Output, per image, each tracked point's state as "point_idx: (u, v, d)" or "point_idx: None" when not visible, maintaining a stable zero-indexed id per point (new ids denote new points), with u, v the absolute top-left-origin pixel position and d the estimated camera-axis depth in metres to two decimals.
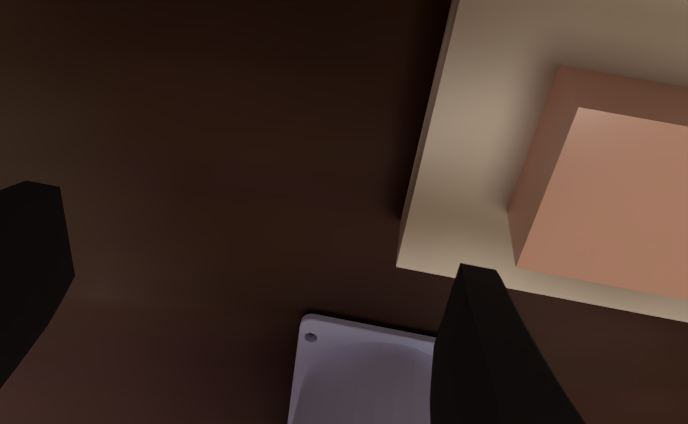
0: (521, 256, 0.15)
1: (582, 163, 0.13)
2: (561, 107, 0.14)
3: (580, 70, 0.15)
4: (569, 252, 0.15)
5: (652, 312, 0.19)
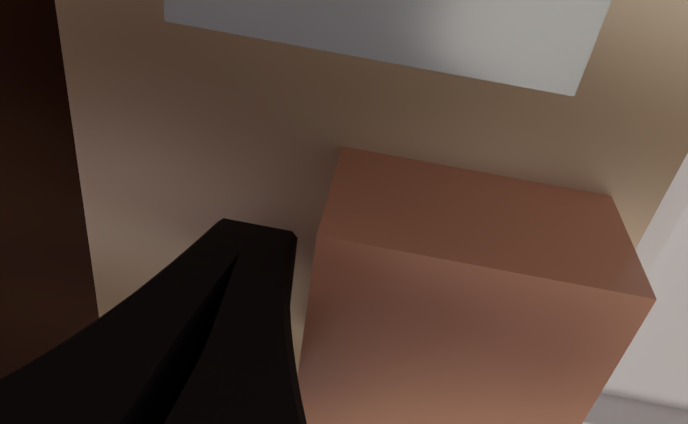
0: None
1: (345, 312, 0.09)
2: None
3: (369, 155, 0.10)
4: (357, 422, 0.10)
5: None
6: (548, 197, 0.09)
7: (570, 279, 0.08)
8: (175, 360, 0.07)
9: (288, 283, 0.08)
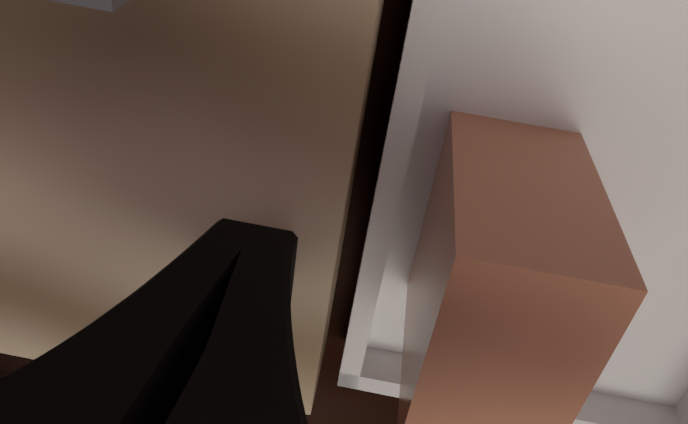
0: None
1: None
2: (547, 304, 0.08)
3: (465, 235, 0.08)
4: None
5: None
6: (476, 141, 0.11)
7: (588, 161, 0.10)
8: (176, 360, 0.07)
9: (289, 283, 0.08)
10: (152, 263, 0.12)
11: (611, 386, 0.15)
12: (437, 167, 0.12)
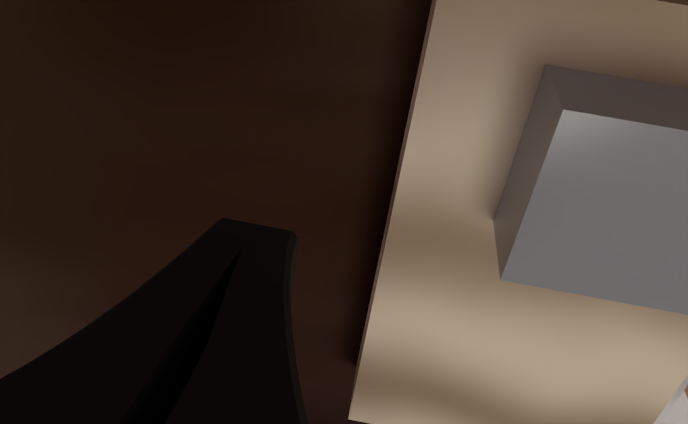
0: None
1: None
2: None
3: None
4: None
5: None
6: None
7: None
8: (176, 360, 0.07)
9: (289, 283, 0.08)
10: (554, 385, 0.20)
11: None
12: None
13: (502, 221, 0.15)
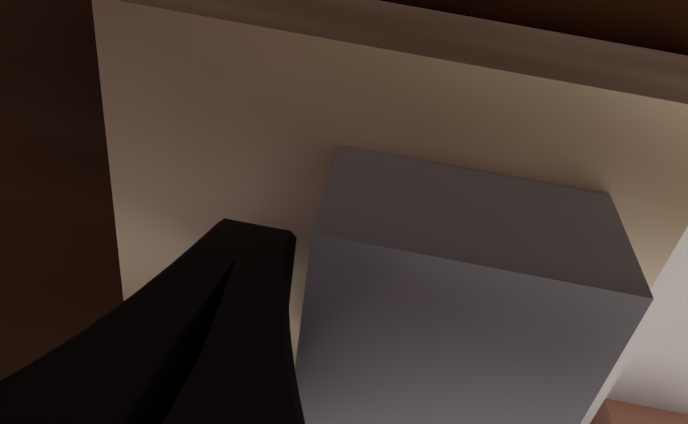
0: None
1: None
2: None
3: None
4: None
5: None
6: None
7: None
8: (178, 360, 0.07)
9: (287, 283, 0.08)
10: None
11: None
12: None
13: None
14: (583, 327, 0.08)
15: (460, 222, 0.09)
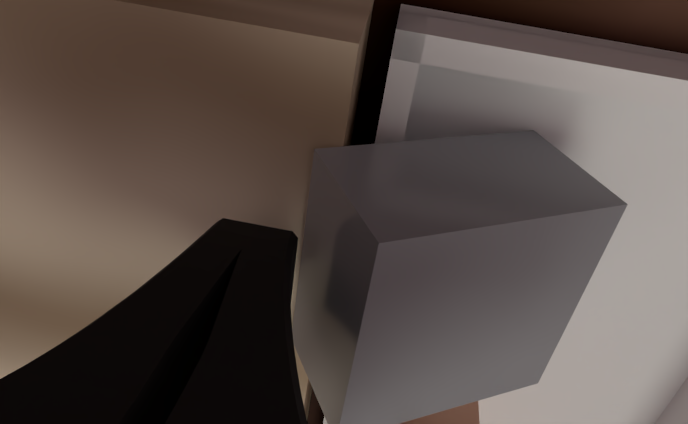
0: None
1: None
2: None
3: None
4: None
5: None
6: None
7: (475, 406, 0.14)
8: (175, 360, 0.07)
9: (289, 283, 0.08)
10: None
11: None
12: None
13: (309, 351, 0.11)
14: (581, 244, 0.10)
15: (469, 189, 0.09)
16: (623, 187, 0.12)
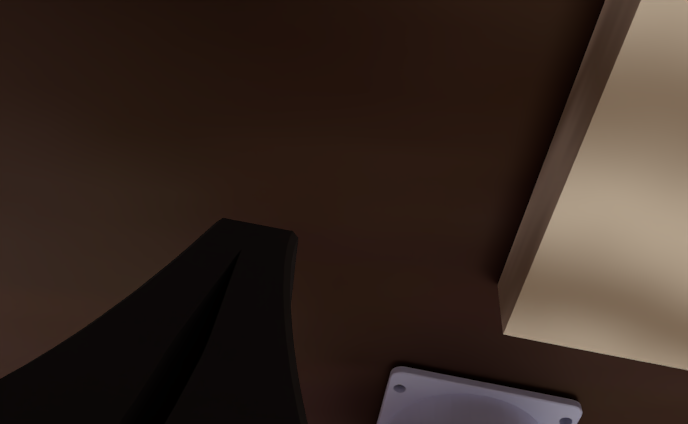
0: None
1: None
2: None
3: None
4: None
5: None
6: None
7: None
8: (176, 359, 0.07)
9: (289, 283, 0.08)
10: None
11: None
12: None
13: None
14: None
15: None
16: None
